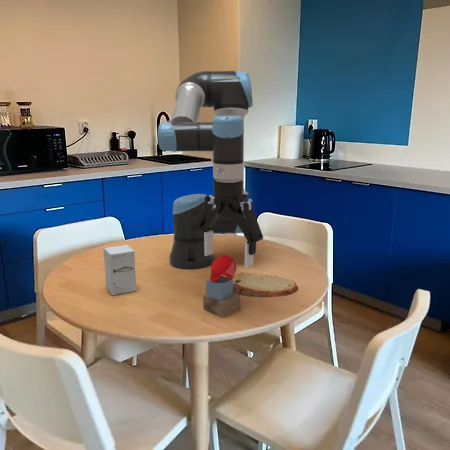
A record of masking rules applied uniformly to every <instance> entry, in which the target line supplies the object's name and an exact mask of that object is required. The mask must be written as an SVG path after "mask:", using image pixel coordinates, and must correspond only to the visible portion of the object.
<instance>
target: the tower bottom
mask: <svg viewBox="0 0 450 450" xmlns="http://www.w3.org/2000/svg"><path fill="white" fill-rule="evenodd" d="M241 297H242V295H241V294H238V293H235V292H233V295H231V296H230V297H228V298H226V299H224V300H222V301H220V300H217V299H213V298H210V297H207V296H206V293H205V294H203V295H202V298H203V300H202V302H203V311H205V312H208V313H210V314H213V315H214V316H218V317H219V318H222V319H224V318H225V317H227V316H230V315H231V314H234V313H236V312H238V311H241Z"/></svg>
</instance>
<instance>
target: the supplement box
mask: <svg viewBox="0 0 450 450" xmlns="http://www.w3.org/2000/svg"><path fill="white" fill-rule="evenodd" d="M103 258H104V259H103V260H104V261H103V262H104V271H105V273H104V276H105V286H106V287H105V288H106V289H107V290H108V292H109V294H110V295H111V296H115V295H119V294H126V293H133V292H136V291H137V281H136V280H137V279H136V278H137V277H136V276H137V275H136V261H135V260H136V258H135V250H134V249H133V248H132V247H130V246H129V245H128V244H124V245H118V246H117V245H116V246H109V247H104V248H103Z"/></svg>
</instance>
